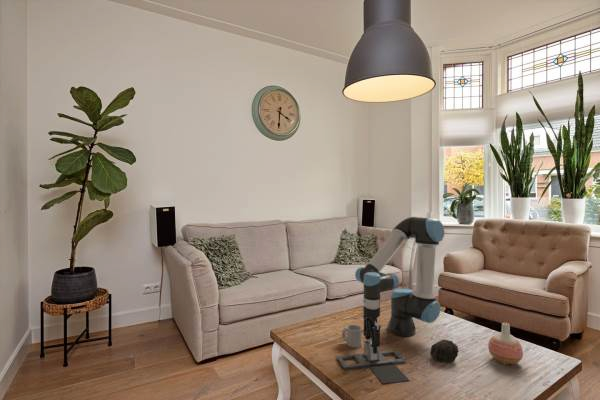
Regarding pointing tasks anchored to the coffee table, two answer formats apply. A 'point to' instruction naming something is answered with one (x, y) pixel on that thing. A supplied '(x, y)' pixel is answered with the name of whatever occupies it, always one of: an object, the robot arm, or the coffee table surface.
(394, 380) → the rubber mat
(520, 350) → the vase
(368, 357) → the grey rectangular block
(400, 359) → the rail
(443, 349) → the rock
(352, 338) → the cup
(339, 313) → the coffee table surface
